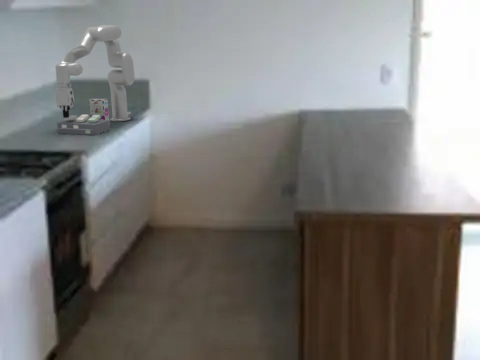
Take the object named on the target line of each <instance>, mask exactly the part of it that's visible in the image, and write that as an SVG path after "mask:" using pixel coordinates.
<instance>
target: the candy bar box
mask: <svg viewBox="0 0 480 360" xmlns="http://www.w3.org/2000/svg"><path fill="white" fill-rule="evenodd" d="M88 104H89V105H88V106H89V118H91V117H92V116H93V115H100V116H101V118H100V119H99V120H109V127H110V126H111V123H110V122H111V120H110V112H109V111H110V108H109V99H108V98H90V99H88Z"/></svg>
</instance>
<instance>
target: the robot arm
mask: <svg viewBox="0 0 480 360" xmlns="http://www.w3.org/2000/svg"><path fill="white" fill-rule="evenodd" d="M121 36H122V28H121V27H120V26H118V25H117V24H102V25H101V24H100V25H98V26H89V27H87V29H85V31H84V33H83V35H82V36H81V38H80V39H79V41H78V43H77V45H76V46H75V47H74V48H72V49H71V50H70V51H68V52H67V53H66V54H65V55H64V56H63V58H62V60H61V61H60V63H58V64H56V65H55V77H56V88H55V90H56V91H55V104H56V107H57V108H59V109H61V111H62V117H63V119H64V118H68V117H69V116H70V110H71V109H73V108H74V107H75V106H74V105H75V103H76V102H75V94H74V91H73V88H72V86H73V84H72V83H71V76H74V77H75V76H76V77H77V76H78V77H79V75H81V74H82V73H83V70H84V67H83V66H82V64H81V63H79V62H77V61H78V60H79V59H82V58H84V57H87V56H89V55H90V54H91V52H92V50H93V48H94V46H95V45H96V43H97V42H101V43H102V42H103V43H104V45H105V48H106V56H107V61H108V62H107V63H108V65H109V67H111V68H115V69H112V70H110V71H109V72H108V74H107V81H108V85H109V89H110V100H111V112H112V117H109V120H110V122H125V121H130V120H131V117H130V116H129V115H131V111H128V101H127V100H128V99H127V90H126V88H125V86H128V87H129V86H131V85H133V84H134V82H135V69H134V68H135V67H134V59H133V57H132V55H131V54H130V53H128V52H124V51H122V49H121V43H120V40H119V39H120V38H121ZM116 68H117V69H116Z"/></svg>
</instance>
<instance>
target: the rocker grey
mask: <svg viewBox="0 0 480 360" xmlns="http://www.w3.org/2000/svg"><path fill="white" fill-rule="evenodd" d="M78 117H79V116H78V115H69V117H68V118H63V119H64V120H63V121H66V120H73V119H77V118H78Z"/></svg>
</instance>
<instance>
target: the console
mask: <svg viewBox="0 0 480 360" xmlns="http://www.w3.org/2000/svg"><path fill="white" fill-rule="evenodd" d="M109 120H110V119H109ZM109 120H97V121H96V122H95V123H88V119H86V120H85V121H84V122H76V119H73V120H62V121H59V122H57V123H56V124H57V125H56V126H57V133H58V134H66V135H67V134H68V135H85V136H87V135H88V136H98V135H101V134H103V132H104V133H106V132H105V131H107V132H109V131H110V126H109ZM108 130H109V131H108ZM100 133H101V134H100ZM97 134H98V135H97Z"/></svg>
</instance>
